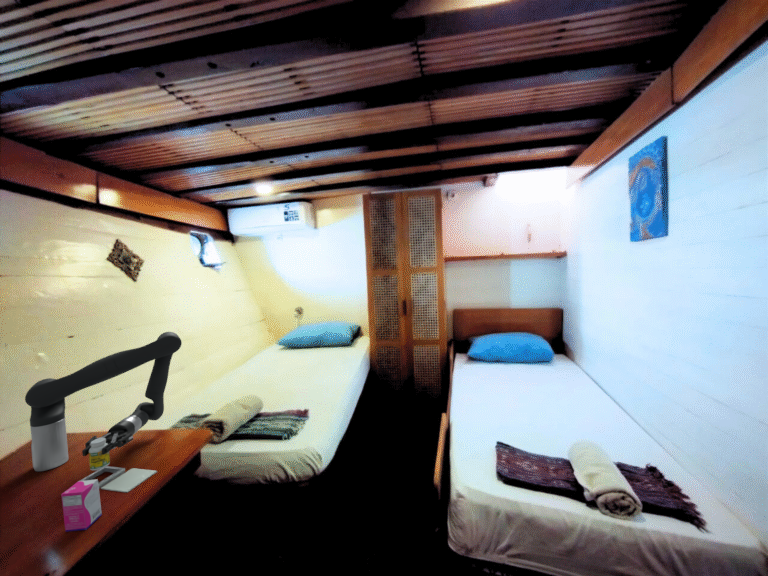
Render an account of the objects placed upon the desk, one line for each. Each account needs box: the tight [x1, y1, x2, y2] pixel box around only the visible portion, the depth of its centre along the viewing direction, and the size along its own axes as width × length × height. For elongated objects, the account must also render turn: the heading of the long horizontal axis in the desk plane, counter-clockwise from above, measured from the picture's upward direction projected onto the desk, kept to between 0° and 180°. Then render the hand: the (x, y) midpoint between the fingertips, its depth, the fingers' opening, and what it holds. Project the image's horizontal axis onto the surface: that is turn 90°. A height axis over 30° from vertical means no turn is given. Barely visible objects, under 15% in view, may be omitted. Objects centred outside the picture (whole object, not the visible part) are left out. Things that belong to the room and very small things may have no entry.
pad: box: [100, 467, 158, 494], centre depth 112 cm, size 11×11×1 cm
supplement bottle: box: [88, 437, 111, 472], centre depth 112 cm, size 5×5×10 cm
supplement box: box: [60, 478, 103, 533], centre depth 92 cm, size 6×6×12 cm
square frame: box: [79, 465, 126, 489], centre depth 113 cm, size 9×9×2 cm
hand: (93, 452), depth 110 cm, fingers closed on supplement bottle, 5 cm apart
